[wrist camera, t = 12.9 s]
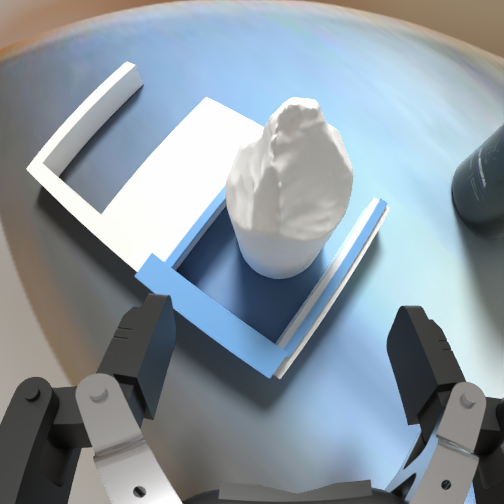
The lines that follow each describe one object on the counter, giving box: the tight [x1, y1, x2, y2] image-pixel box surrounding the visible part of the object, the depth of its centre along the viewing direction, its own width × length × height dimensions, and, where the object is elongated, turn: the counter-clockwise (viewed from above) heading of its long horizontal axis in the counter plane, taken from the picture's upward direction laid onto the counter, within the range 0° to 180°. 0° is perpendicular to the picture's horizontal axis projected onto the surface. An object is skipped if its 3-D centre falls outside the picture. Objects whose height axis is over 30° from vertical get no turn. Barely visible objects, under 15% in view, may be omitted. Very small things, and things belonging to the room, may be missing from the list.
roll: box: [225, 97, 353, 279], centre depth 15 cm, size 6×12×6 cm
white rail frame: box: [27, 62, 390, 379], centre depth 20 cm, size 12×23×4 cm, turn 54°
